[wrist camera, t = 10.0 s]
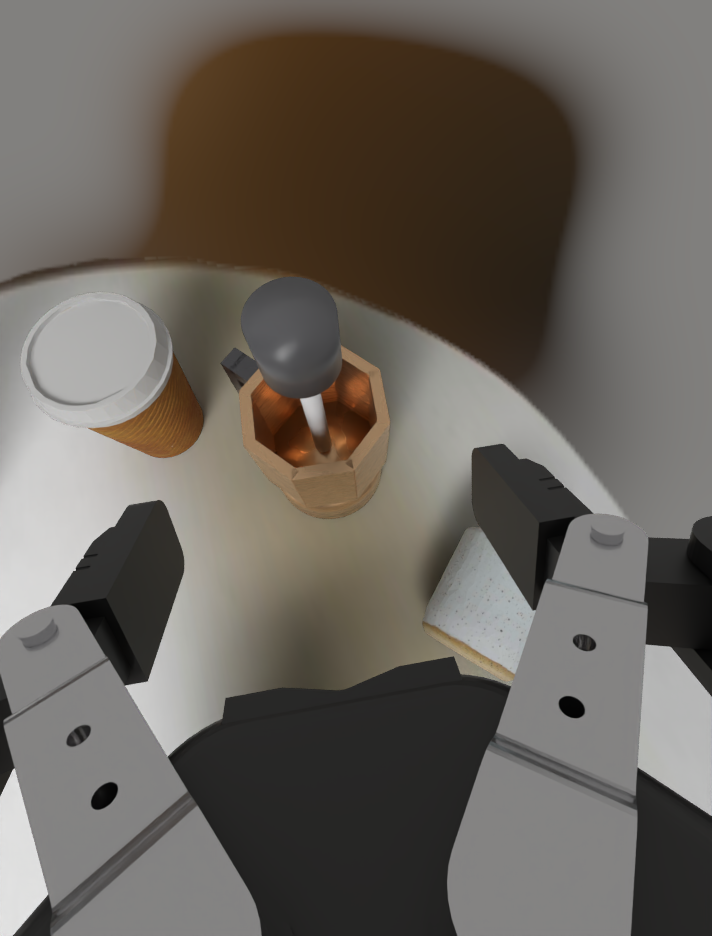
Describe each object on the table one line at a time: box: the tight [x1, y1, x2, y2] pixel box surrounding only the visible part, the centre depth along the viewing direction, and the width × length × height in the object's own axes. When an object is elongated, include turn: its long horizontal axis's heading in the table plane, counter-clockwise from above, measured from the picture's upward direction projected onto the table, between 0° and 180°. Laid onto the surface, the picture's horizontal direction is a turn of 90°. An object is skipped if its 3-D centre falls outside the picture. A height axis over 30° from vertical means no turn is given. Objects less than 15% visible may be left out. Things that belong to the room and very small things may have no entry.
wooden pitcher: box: [221, 345, 390, 519], centre depth 33 cm, size 11×9×12 cm
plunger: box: [241, 277, 342, 452], centre depth 26 cm, size 4×4×15 cm
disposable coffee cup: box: [20, 292, 203, 458], centre depth 35 cm, size 10×10×12 cm
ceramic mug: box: [423, 527, 536, 682], centre depth 31 cm, size 11×8×8 cm
